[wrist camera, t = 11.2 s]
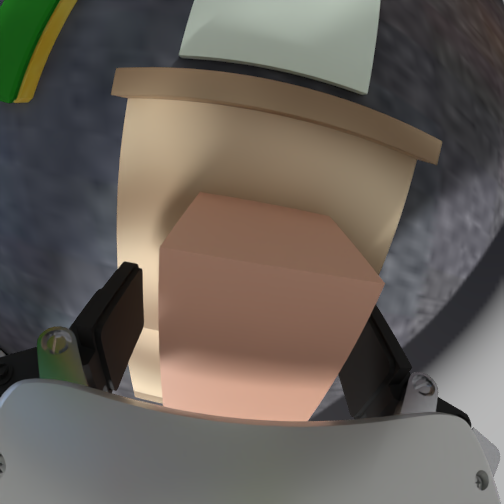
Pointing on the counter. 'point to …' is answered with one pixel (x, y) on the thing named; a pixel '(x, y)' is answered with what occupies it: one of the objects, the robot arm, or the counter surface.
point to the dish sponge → (27, 43)
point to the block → (257, 308)
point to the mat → (288, 37)
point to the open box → (250, 167)
